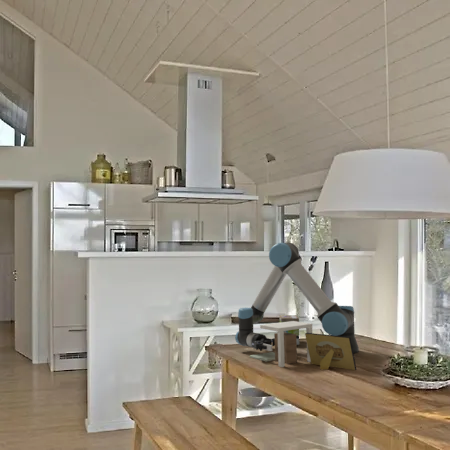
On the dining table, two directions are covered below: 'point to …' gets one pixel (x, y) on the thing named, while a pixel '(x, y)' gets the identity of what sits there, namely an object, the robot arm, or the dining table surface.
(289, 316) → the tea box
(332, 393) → the dining table surface
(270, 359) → the mat
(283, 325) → the small white table
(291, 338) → the walnut block
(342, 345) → the picture frame
